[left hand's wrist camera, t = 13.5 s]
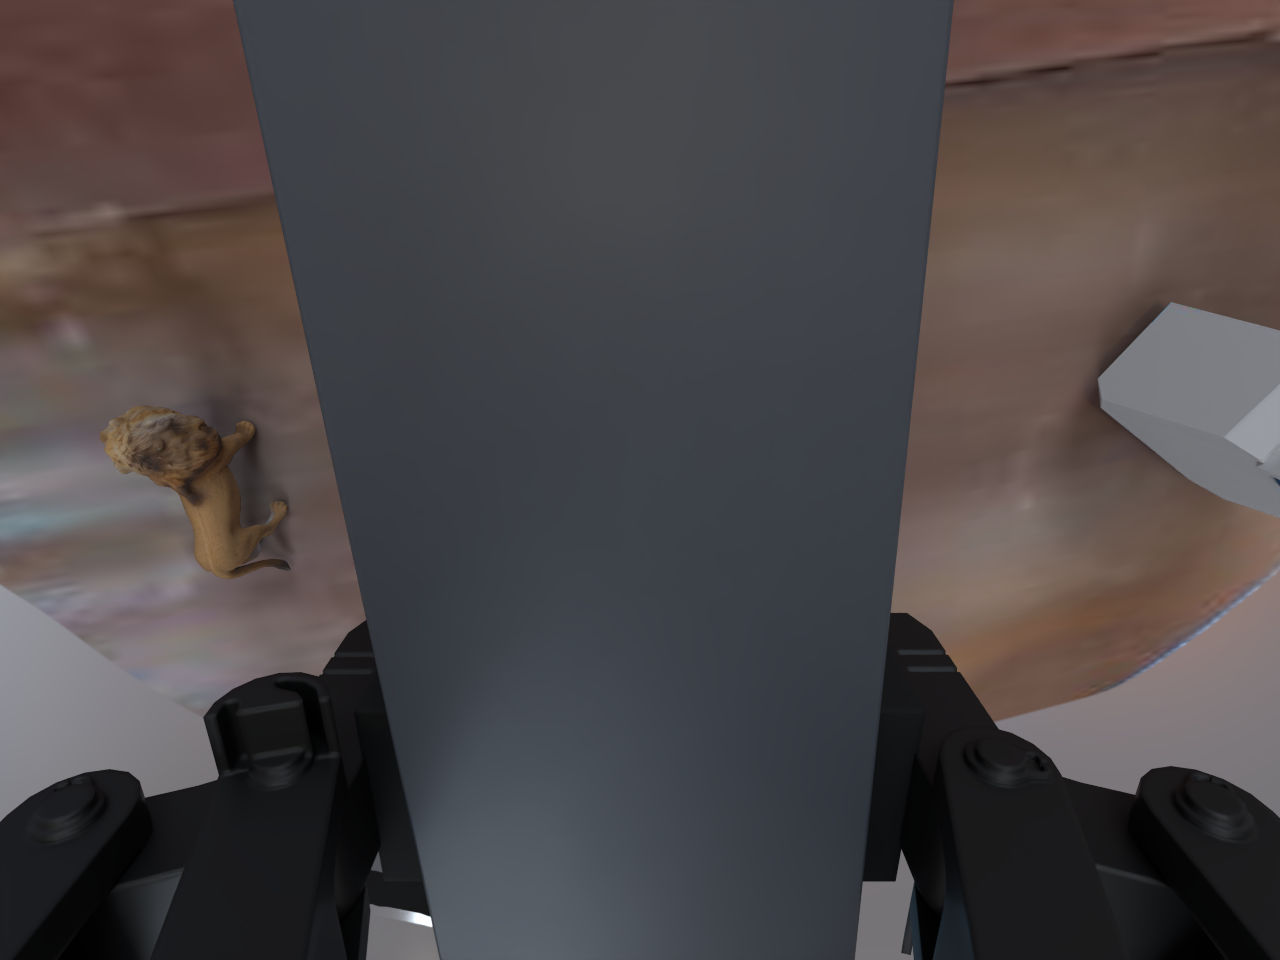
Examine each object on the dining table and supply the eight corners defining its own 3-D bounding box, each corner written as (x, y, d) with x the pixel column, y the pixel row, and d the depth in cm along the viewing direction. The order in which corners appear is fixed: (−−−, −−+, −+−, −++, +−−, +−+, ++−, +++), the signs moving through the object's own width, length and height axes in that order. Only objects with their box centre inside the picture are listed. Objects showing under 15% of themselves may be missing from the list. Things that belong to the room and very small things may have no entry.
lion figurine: (159, 393, 49) (58, 434, 40) (229, 370, 48) (142, 407, 40) (262, 574, 54) (193, 644, 45) (327, 556, 53) (268, 623, 45)
